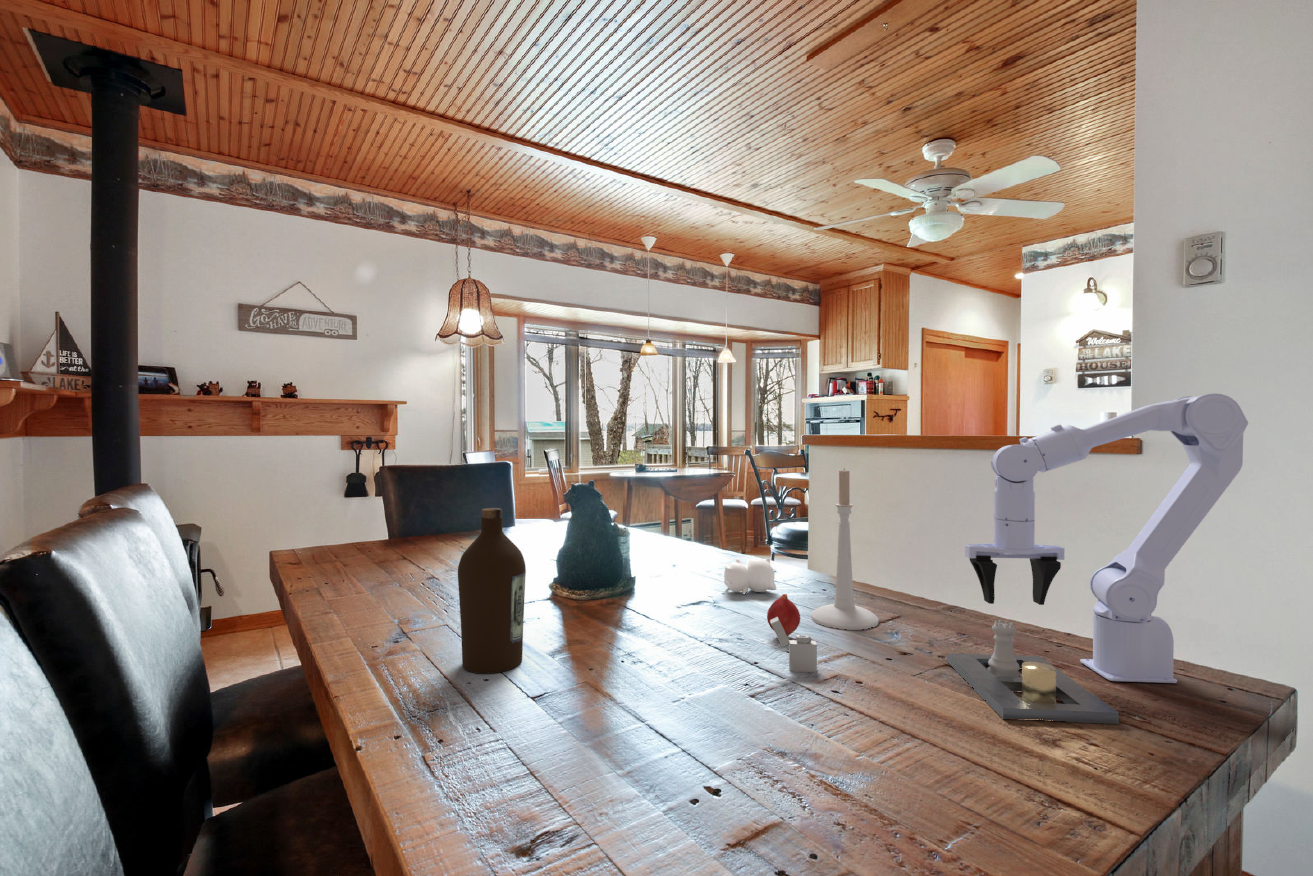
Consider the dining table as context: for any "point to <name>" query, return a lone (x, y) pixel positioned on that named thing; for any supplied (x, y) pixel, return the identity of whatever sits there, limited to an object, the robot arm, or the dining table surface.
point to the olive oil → (491, 599)
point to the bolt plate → (1032, 691)
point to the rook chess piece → (1003, 651)
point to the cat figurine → (750, 576)
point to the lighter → (798, 649)
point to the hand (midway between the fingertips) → (1013, 602)
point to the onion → (784, 614)
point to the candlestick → (844, 576)
